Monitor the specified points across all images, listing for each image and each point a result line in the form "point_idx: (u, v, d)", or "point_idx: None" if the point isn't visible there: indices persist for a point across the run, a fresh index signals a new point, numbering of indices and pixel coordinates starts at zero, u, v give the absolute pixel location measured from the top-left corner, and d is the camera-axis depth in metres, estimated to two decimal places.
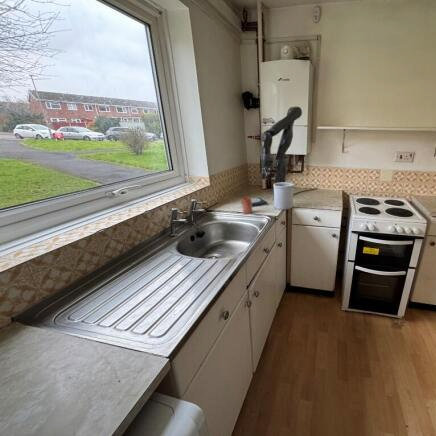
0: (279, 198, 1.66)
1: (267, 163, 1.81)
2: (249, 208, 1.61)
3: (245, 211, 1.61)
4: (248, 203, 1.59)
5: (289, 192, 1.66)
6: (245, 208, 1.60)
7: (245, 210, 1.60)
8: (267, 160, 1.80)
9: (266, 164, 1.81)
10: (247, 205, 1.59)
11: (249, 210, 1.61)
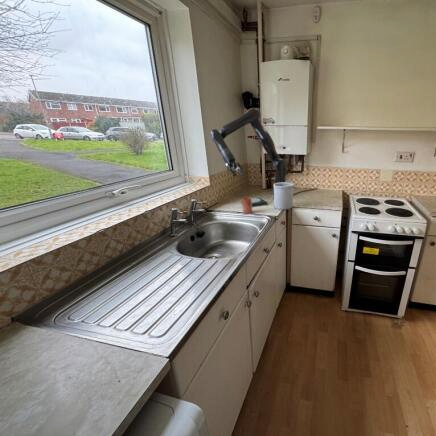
0: (279, 198, 1.66)
1: (226, 159, 1.62)
2: (249, 208, 1.61)
3: (245, 211, 1.61)
4: (248, 203, 1.59)
5: (289, 192, 1.66)
6: (245, 208, 1.60)
7: (245, 210, 1.60)
8: (224, 156, 1.62)
9: (226, 161, 1.62)
10: (247, 205, 1.59)
11: (249, 210, 1.61)
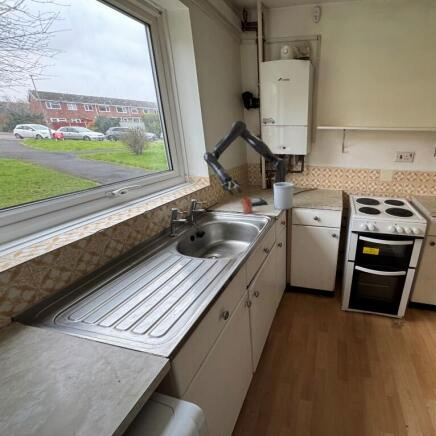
0: (279, 198, 1.66)
1: (221, 180, 1.62)
2: (249, 208, 1.61)
3: (245, 211, 1.61)
4: (248, 203, 1.59)
5: (289, 192, 1.66)
6: (245, 208, 1.60)
7: (245, 210, 1.60)
8: (219, 177, 1.62)
9: (222, 181, 1.62)
10: (247, 205, 1.59)
11: (249, 210, 1.61)
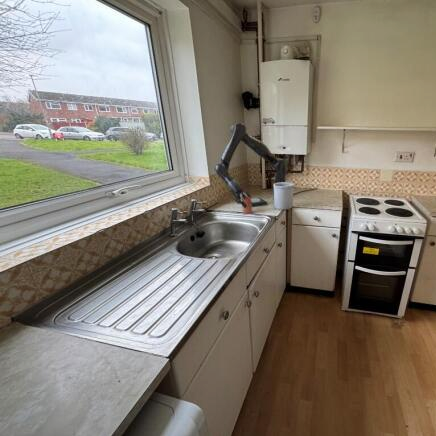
0: (279, 198, 1.66)
1: (233, 191, 1.60)
2: (249, 208, 1.61)
3: (245, 211, 1.61)
4: (248, 203, 1.59)
5: (289, 192, 1.66)
6: (245, 208, 1.60)
7: (245, 210, 1.60)
8: (231, 189, 1.60)
9: (233, 193, 1.60)
10: (247, 205, 1.59)
11: (249, 210, 1.61)
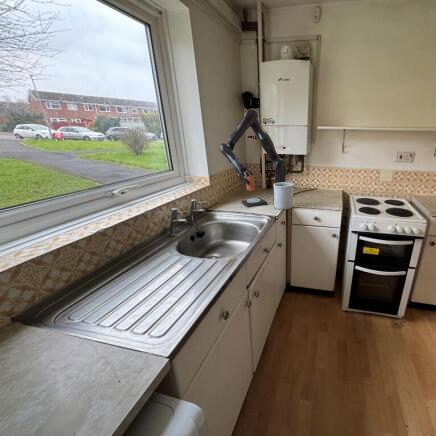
0: (279, 198, 1.66)
1: (237, 170, 1.67)
2: (253, 186, 1.68)
3: (249, 188, 1.68)
4: (251, 180, 1.67)
5: (289, 192, 1.66)
6: (249, 185, 1.67)
7: (249, 187, 1.68)
8: (235, 167, 1.68)
9: (238, 171, 1.68)
10: (250, 182, 1.67)
11: (252, 187, 1.69)
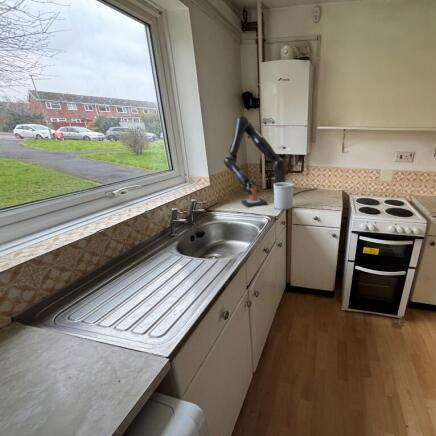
0: (279, 198, 1.66)
1: (241, 181, 1.80)
2: (255, 196, 1.81)
3: (251, 199, 1.81)
4: (254, 192, 1.79)
5: (289, 192, 1.66)
6: (251, 196, 1.80)
7: (251, 198, 1.80)
8: (239, 178, 1.80)
9: (241, 182, 1.80)
10: (253, 193, 1.79)
11: (255, 198, 1.81)
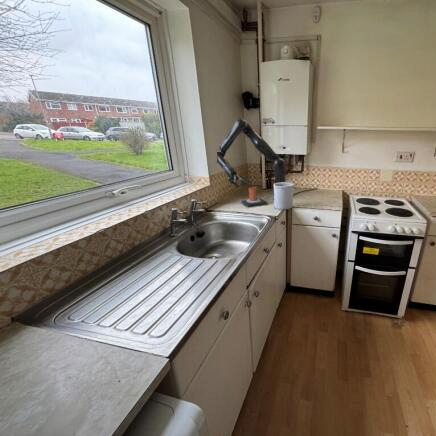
0: (279, 198, 1.66)
1: (228, 174, 1.84)
2: (255, 196, 1.81)
3: (251, 199, 1.81)
4: (254, 192, 1.79)
5: (289, 192, 1.66)
6: (251, 196, 1.80)
7: (251, 198, 1.80)
8: (226, 171, 1.84)
9: (228, 175, 1.84)
10: (253, 193, 1.79)
11: (255, 198, 1.81)
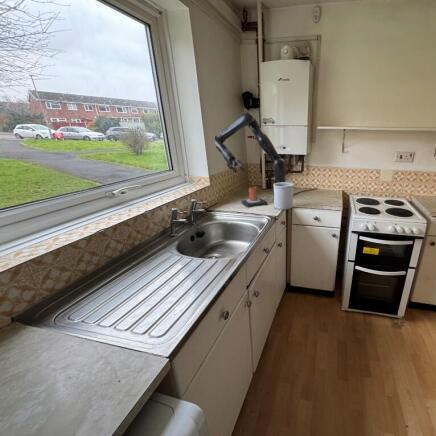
0: (279, 198, 1.66)
1: (226, 159, 1.80)
2: (255, 196, 1.81)
3: (251, 199, 1.81)
4: (254, 192, 1.79)
5: (289, 192, 1.66)
6: (251, 196, 1.80)
7: (251, 198, 1.80)
8: (224, 157, 1.81)
9: (227, 160, 1.81)
10: (253, 193, 1.79)
11: (255, 198, 1.81)
